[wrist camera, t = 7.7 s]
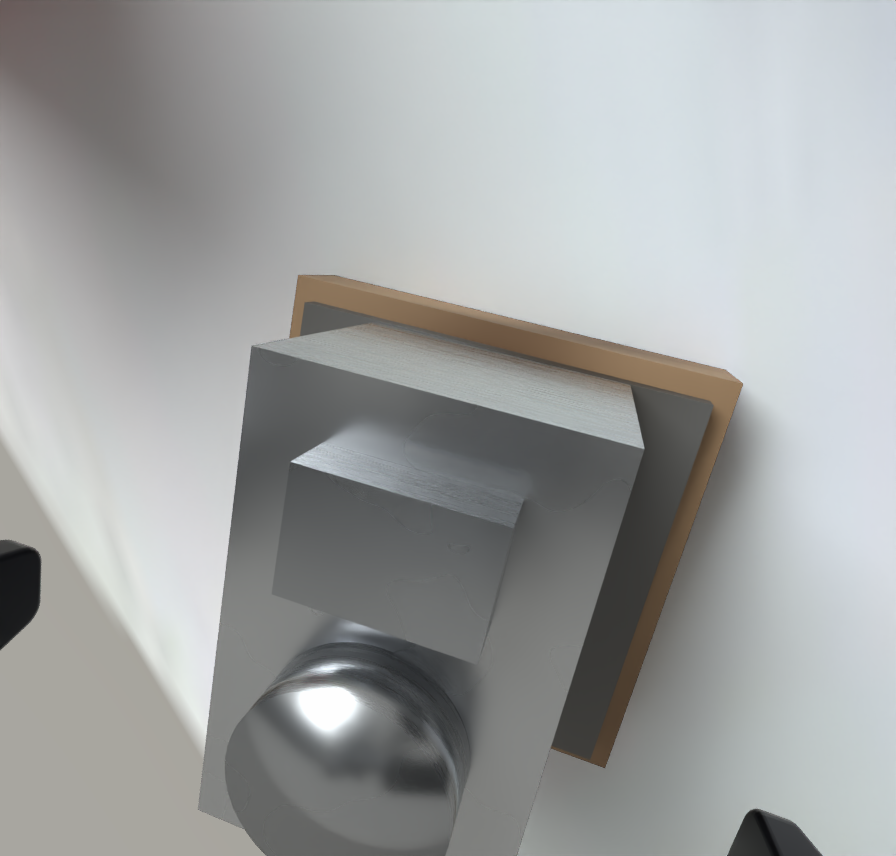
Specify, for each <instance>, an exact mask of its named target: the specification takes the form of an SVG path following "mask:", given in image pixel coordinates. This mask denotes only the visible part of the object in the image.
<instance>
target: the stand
mask: <svg viewBox="0 0 896 856" xmlns="http://www.w3.org/2000/svg"><path fill="white" fill-rule="evenodd" d="M373 322H376V323H380V324H384V325H388V326H392V327H396V328H401V329H405V330H409V331H413V332H417V333H421V334H425V335H429V336H433V337H437V338H441V339H445V340H449V341H453V342H458V343H462V344H466V345H470V346H474V347H478V348H482V349H486V350H490V351H494V352H498V353H502V354H506V355H510V356H515V357H519V358H523V359H527V360H531V361H535V362H539V363H543V364H547V365H551V366H555V367H559V368H563V369H567V370H572V371H576V372H580V373H584V374H588V375H592V376H596V377H600V378H604V379H608V380H612V381H616V382H620V383H624V384H629V385H630V386H631V390H632V395H633V399H634V404H635V408H636V413H637V417H638V422H639V426H640V431H641V435H642V440H643V444H644V452H643V456H642V459H641V462H640V465H639V468H638V471H637V475H636V478H635V481H634V484H633V487H632V491H631V494H630V497H629V500H628V503H627V506H626V510H625V513H624V516H623V519H622V522H621V526H620V529H619V532H618V535H617V538H616V541H615V545H614V548H613V551H612V554H611V557H610V561H609V564H608V567H607V570H606V573H605V576H604V580H603V583H602V586H601V589H600V592H599V596H598V599H597V602H596V605H595V608H594V611H593V615H592V618H591V621H590V624H589V627H588V631H587V634H586V637H585V640H584V643H583V646H582V650H581V653H580V656H579V659H578V662H577V666H576V669H575V672H574V675H573V678H572V681H571V685H570V688H569V691H568V694H567V697H566V701H565V704H564V707H563V710H562V713H561V716H560V720H559V723H558V726H557V729H556V732H555V736H554V739H553V742H552V745H551V749H554V750H557V751H560V752H562V753H565V754H568V755H571V756H573V757H576V758H579V759H581V760H584V761H587V762H590V763H592V764H595V765H598V766H601V767H603V768H605V767H606V764H607V761H608V758H609V756H610V753H611V750H612V747H613V745H614V742H615V739H616V736H617V733H618V731H619V728H620V725H621V722H622V720H623V717H624V714H625V711H626V708H627V706H628V703H629V700H630V697H631V695H632V692H633V689H634V686H635V683H636V681H637V678H638V675H639V672H640V669H641V667H642V664H643V661H644V658H645V656H646V653H647V650H648V647H649V644H650V642H651V639H652V636H653V633H654V631H655V628H656V625H657V622H658V619H659V617H660V614H661V611H662V608H663V605H664V603H665V600H666V597H667V594H668V592H669V589H670V586H671V583H672V580H673V578H674V575H675V572H676V569H677V567H678V564H679V561H680V558H681V555H682V553H683V550H684V547H685V544H686V541H687V539H688V536H689V533H690V530H691V528H692V525H693V522H694V519H695V516H696V514H697V511H698V508H699V505H700V503H701V500H702V497H703V494H704V491H705V489H706V486H707V483H708V480H709V477H710V475H711V472H712V469H713V466H714V464H715V461H716V458H717V455H718V452H719V450H720V447H721V444H722V441H723V439H724V436H725V433H726V430H727V427H728V425H729V422H730V419H731V416H732V413H733V411H734V408H735V405H736V402H737V400H738V397H739V394H740V391H741V388H742V386H743V383H742V382H740V381H739V380H738V379H736V378H735V377H734V376H733V375H731V374H730V373H729V372H727V371H726V370H724V369H720V368H716V367H711V366H707V365H703V364H699V363H695V362H691V361H687V360H682V359H678V358H674V357H670V356H666V355H662V354H658V353H653V352H649V351H645V350H641V349H637V348H633V347H629V346H624V345H620V344H616V343H612V342H608V341H604V340H600V339H595V338H591V337H587V336H583V335H579V334H575V333H571V332H566V331H562V330H558V329H554V328H550V327H546V326H542V325H537V324H533V323H529V322H525V321H521V320H517V319H513V318H508V317H504V316H500V315H496V314H492V313H488V312H484V311H479V310H475V309H471V308H467V307H463V306H459V305H455V304H450V303H446V302H442V301H438V300H434V299H430V298H426V297H422V296H417V295H413V294H409V293H405V292H401V291H397V290H393V289H388V288H384V287H380V286H376V285H372V284H368V283H364V282H359V281H355V280H351V279H347V278H343V277H339V276H335V275H298V280H297V287H296V294H295V302H294V309H293V316H292V323H291V330H290V337H289V338H295V337H300V336H305V335H310V334H315V333H321V332H326V331H331V330H336V329H342V328H347V327H352V326H357V325H362V324H368V323H373Z"/></svg>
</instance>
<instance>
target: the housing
mask: <svg viewBox="0 0 896 856" xmlns="http://www.w3.org/2000/svg"><path fill="white" fill-rule="evenodd" d="M643 452H644V444H643V440H642V435H641V431H640V426H639V422H638V417H637V413H636V408H635V404H634V399H633V395H632V390H631V386H630V385H629V384H624V383H620V382H616V381H612V380H608V379H604V378H600V377H596V376H592V375H588V374H584V373H580V372H576V371H572V370H567V369H563V368H559V367H555V366H551V365H547V364H543V363H539V362H535V361H531V360H527V359H523V358H519V357H515V356H510V355H506V354H502V353H498V352H494V351H490V350H486V349H482V348H478V347H474V346H470V345H466V344H462V343H458V342H453V341H449V340H445V339H441V338H437V337H433V336H429V335H425V334H421V333H417V332H413V331H409V330H405V329H401V328H396V327H392V326H388V325H384V324H380V323H376V322H373V323H368V324H362V325H357V326H352V327H347V328H342V329H336V330H331V331H326V332H321V333H315V334H310V335H305V336H300V337H295V338H289V339H284V340H279V341H274V342H268V343H263V344H258V345H253V346H252V348H251V356H250V365H249V374H248V382H247V391H246V400H245V408H244V417H243V426H242V434H241V443H240V451H239V460H238V469H237V477H236V486H235V495H234V503H233V512H232V520H231V529H230V538H229V546H228V555H227V564H226V572H225V581H224V590H223V598H222V607H221V615H220V624H219V633H218V641H217V650H216V659H215V667H214V676H213V684H212V693H211V702H210V710H209V719H208V728H207V736H206V745H205V754H204V763H203V771H202V780H201V789H200V797H199V806H198V810H200V811H202V812H205V813H207V814H209V815H212V816H214V817H216V818H219V819H221V820H224V821H226V822H228V823H231V824H233V825H235V826H238V827H240V828H242V829H245V831H246V832H247V834H248V835H249V836H250V838H251V839H252V840H253V842H254V843H255V844H256V845H257V846H258V847H259V848H260V850H261V851H262V852H263V853H264V854H265V855H266V856H517V853H518V850H519V847H520V844H521V840H522V837H523V834H524V831H525V828H526V825H527V821H528V818H529V815H530V812H531V809H532V805H533V802H534V799H535V796H536V793H537V790H538V786H539V783H540V780H541V777H542V774H543V771H544V767H545V764H546V761H547V758H548V755H549V751H550V748H551V745H552V742H553V739H554V736H555V732H556V729H557V726H558V723H559V720H560V716H561V713H562V710H563V707H564V704H565V701H566V697H567V694H568V691H569V688H570V685H571V681H572V678H573V675H574V672H575V669H576V666H577V662H578V659H579V656H580V653H581V650H582V646H583V643H584V640H585V637H586V634H587V631H588V627H589V624H590V621H591V618H592V615H593V611H594V608H595V605H596V602H597V599H598V596H599V592H600V589H601V586H602V583H603V580H604V576H605V573H606V570H607V567H608V564H609V561H610V557H611V554H612V551H613V548H614V545H615V541H616V538H617V535H618V532H619V529H620V526H621V522H622V519H623V516H624V513H625V510H626V506H627V503H628V500H629V497H630V494H631V491H632V487H633V484H634V481H635V478H636V475H637V471H638V468H639V465H640V462H641V459H642V456H643Z"/></svg>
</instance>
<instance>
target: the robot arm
mask: <svg viewBox="0 0 896 856" xmlns="http://www.w3.org/2000/svg"><path fill="white" fill-rule="evenodd" d="M40 594H41V556H40V554H39V552H38V551H37V550H36V549H35V548H33V547H30V546H27V545H24V544H22V543H19V542H16V541H12V540H0V650H1V649H2V648H3V647H4V646H5V645H7V644H8V643H9V642H10V641H11V640H12V639H13V638H14V637H15V636H16V635H17V634H18V633H19V632H20V631H21V630H22V629H24V628H25V627H26V626H27V625H28V624H29V623H30V622H31V620H32V619H33V618H34V616H35V615H36V613H37V611H38V609H39V606H40ZM727 856H822V854H821V853H820V852H819V851H818V850H817V848H816V847H815V846H814V845H813V844H812V842H811V841H810V840H809V839H808V838H807V836H806V835H805V834H804V833H803V832H802V830H801V829H800V828H799V827H798V826H797V825H796V824H795V823H793V822H792V821H790V820H788V819H785V818H782V817H780V816H777V815H774V814H771V813H769V812H766V811H763V810H760V809H753V810H750V811H749V812H748V813H747V814H746V816H745V818H744V820H743V822H742V824H741V826H740V828H739V831H738V833H737V835H736V837H735V840H734V842H733V844H732V846H731V848H730V851H729V853H728V855H727Z"/></svg>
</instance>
